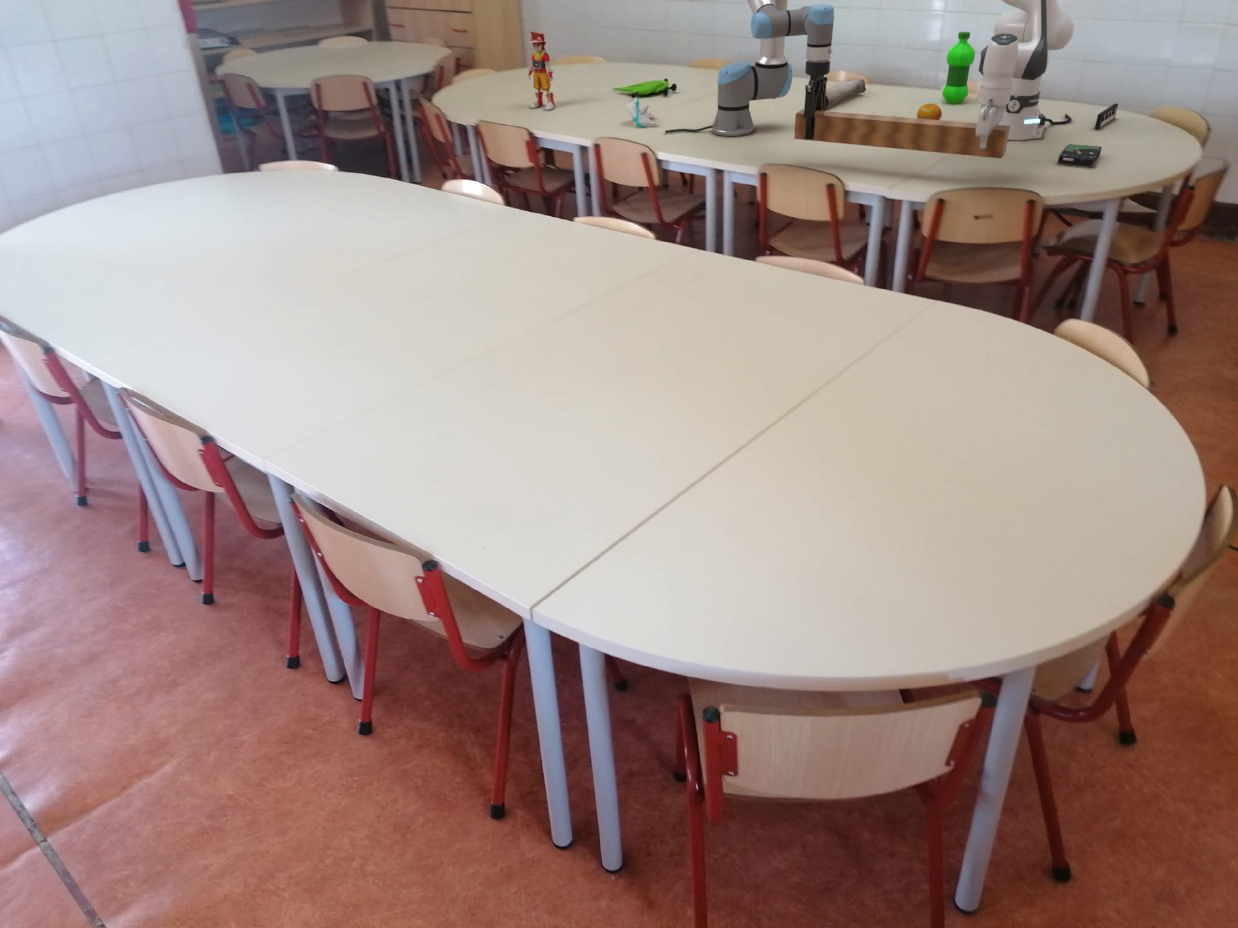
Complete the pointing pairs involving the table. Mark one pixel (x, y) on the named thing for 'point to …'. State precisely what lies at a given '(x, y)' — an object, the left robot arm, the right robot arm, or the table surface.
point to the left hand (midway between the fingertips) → (812, 136)
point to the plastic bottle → (958, 69)
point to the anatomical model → (640, 114)
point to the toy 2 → (648, 88)
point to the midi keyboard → (1106, 116)
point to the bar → (903, 133)
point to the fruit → (929, 112)
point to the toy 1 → (541, 71)
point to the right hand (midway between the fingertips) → (985, 145)
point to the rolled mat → (843, 90)
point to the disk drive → (1079, 155)
